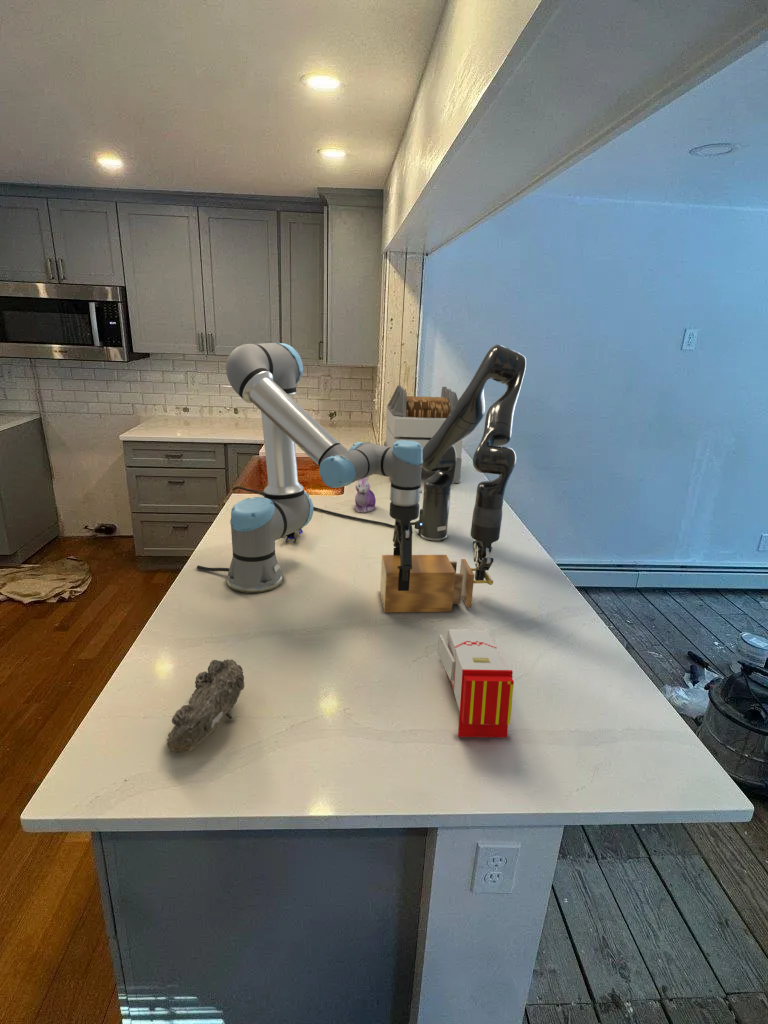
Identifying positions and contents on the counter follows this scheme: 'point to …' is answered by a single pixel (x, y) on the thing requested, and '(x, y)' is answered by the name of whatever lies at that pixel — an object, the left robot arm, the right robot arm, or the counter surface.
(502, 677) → the toy
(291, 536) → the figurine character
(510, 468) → the right robot arm
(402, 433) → the grey boxy piece
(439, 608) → the cabinet
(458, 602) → the drawer
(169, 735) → the fossil
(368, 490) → the figurine
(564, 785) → the counter surface
